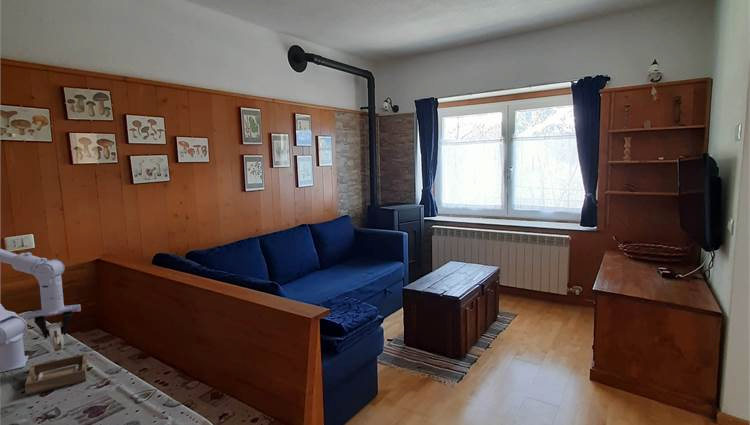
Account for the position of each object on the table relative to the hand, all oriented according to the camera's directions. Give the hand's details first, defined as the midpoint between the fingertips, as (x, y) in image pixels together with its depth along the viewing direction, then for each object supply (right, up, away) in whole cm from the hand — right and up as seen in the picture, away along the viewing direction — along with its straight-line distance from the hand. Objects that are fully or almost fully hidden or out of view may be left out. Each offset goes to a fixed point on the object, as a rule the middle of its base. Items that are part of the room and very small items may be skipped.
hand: (55, 335), depth 131 cm
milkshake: (+1, -5, +1) cm, 5 cm away
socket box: (+8, -11, -9) cm, 16 cm away
